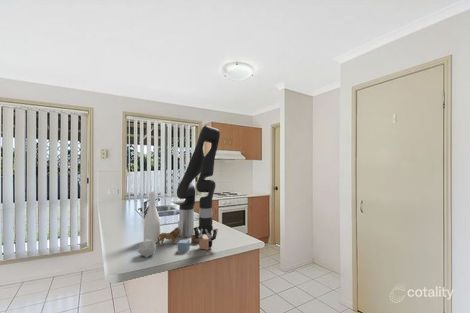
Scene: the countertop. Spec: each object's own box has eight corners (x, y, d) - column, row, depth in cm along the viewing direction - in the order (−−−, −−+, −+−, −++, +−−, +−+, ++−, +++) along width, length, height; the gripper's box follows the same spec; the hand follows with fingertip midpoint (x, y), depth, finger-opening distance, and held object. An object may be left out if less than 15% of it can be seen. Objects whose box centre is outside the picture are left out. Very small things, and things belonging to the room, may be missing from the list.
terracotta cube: (199, 248, 130) (199, 239, 130) (203, 245, 135) (203, 236, 135) (207, 249, 128) (207, 240, 128) (211, 246, 133) (211, 237, 133)
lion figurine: (179, 241, 145) (179, 226, 145) (181, 243, 140) (181, 228, 140) (154, 244, 138) (154, 228, 138) (155, 247, 133) (155, 231, 134)
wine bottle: (163, 240, 146) (164, 191, 147) (152, 245, 137) (152, 192, 138) (151, 238, 150) (152, 190, 151) (140, 242, 141) (140, 192, 142)
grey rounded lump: (145, 252, 127) (134, 240, 123) (160, 244, 128) (149, 232, 124) (144, 264, 120) (133, 251, 115) (159, 255, 120) (149, 242, 116)
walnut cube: (191, 243, 141) (191, 234, 141) (194, 240, 145) (194, 232, 146) (199, 243, 139) (199, 235, 140) (202, 241, 144) (202, 232, 144)
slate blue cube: (177, 252, 126) (177, 242, 126) (180, 249, 131) (180, 239, 131) (186, 252, 125) (186, 243, 126) (189, 249, 130) (189, 240, 131)
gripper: (190, 216, 131) (190, 247, 130) (214, 218, 126) (214, 250, 126) (197, 213, 138) (197, 243, 137) (220, 215, 133) (220, 246, 133)
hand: (205, 246), depth 132 cm, fingers closed on terracotta cube, 5 cm apart
